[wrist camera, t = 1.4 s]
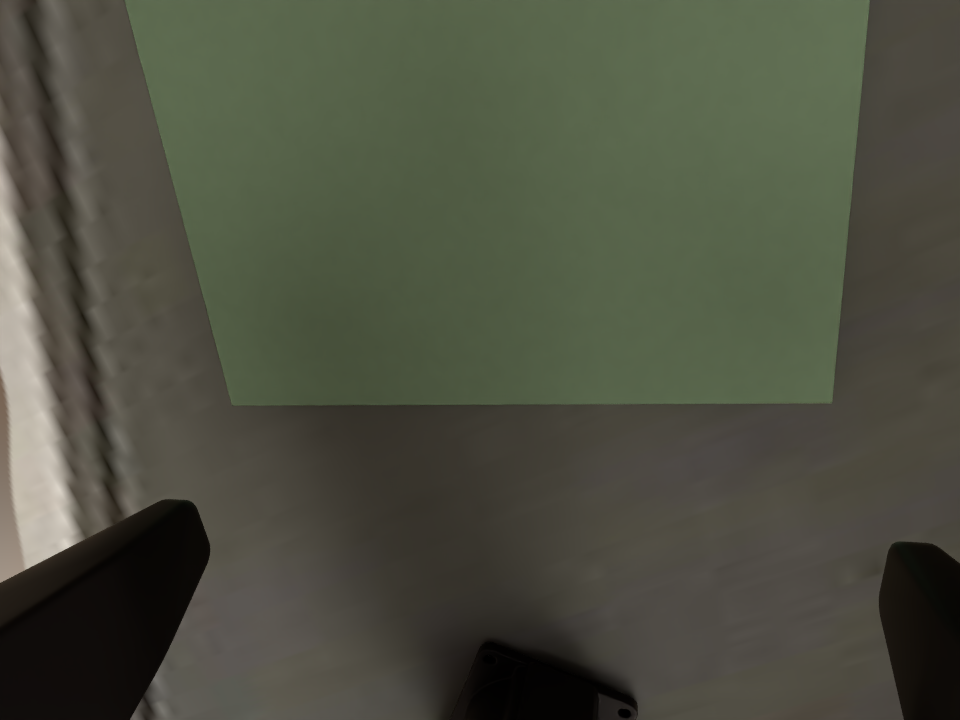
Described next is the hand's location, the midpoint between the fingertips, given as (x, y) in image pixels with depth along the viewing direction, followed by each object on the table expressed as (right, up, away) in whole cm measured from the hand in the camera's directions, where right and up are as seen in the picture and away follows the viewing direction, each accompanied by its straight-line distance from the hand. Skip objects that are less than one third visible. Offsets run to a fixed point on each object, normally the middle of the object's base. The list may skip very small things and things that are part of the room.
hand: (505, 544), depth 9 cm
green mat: (0, +8, +11) cm, 14 cm away
